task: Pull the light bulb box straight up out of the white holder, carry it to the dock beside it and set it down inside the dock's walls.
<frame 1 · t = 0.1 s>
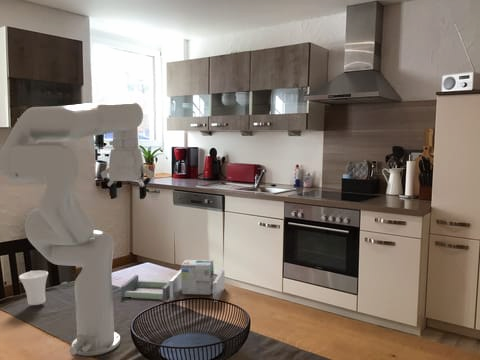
hand: (128, 198, 136), 37 cm above the table, tool pointing down, fingers open, 9 cm apart
cup: (35, 302, 144), point 1 cm above the table
dock: (150, 292, 156), on the table
light bulb box: (198, 291, 153), point 1 cm above the table
white holder: (198, 294, 153), on the table
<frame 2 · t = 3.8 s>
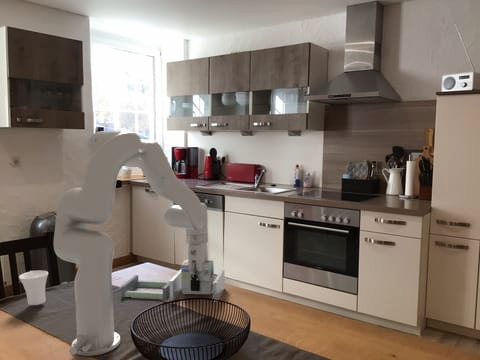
hand: (198, 286, 153), 3 cm above the table, tool pointing down, fingers closed on light bulb box, 7 cm apart
light bulb box: (198, 291, 153), point 1 cm above the table, touching gripper
everything else where it was.
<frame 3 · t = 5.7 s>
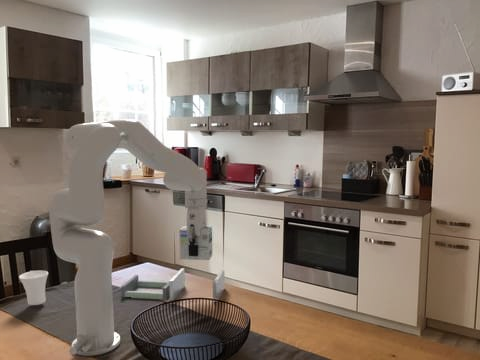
hand: (196, 252, 151), 15 cm above the table, tool pointing down, fingers closed on light bulb box, 7 cm apart
light bulb box: (196, 258, 151), point 13 cm above the table, touching gripper
everything else where it was.
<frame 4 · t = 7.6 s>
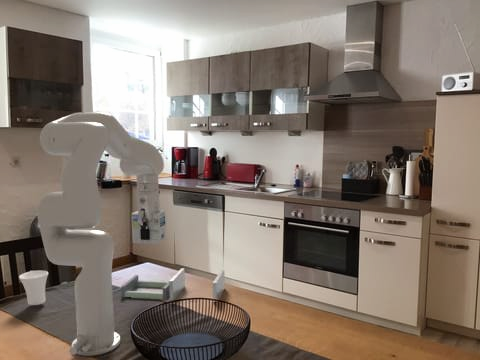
hand: (149, 236, 153), 21 cm above the table, tool pointing down, fingers closed on light bulb box, 7 cm apart
light bulb box: (149, 242, 154), point 19 cm above the table, touching gripper
everything else where it was.
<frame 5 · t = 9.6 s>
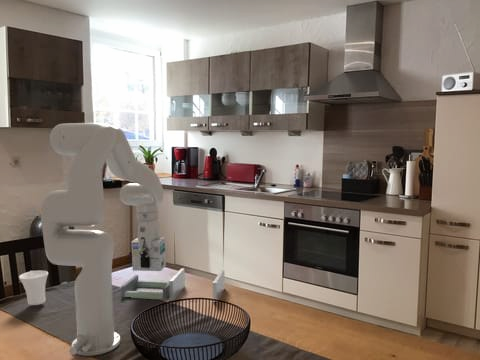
hand: (149, 263, 155), 10 cm above the table, tool pointing down, fingers closed on light bulb box, 7 cm apart
light bulb box: (149, 268, 155), point 9 cm above the table, touching gripper
everything else where it was.
when the fingers open (4 cm above the table, at t = 11.4 s): light bulb box drops 1 cm, point 1 cm above the table.
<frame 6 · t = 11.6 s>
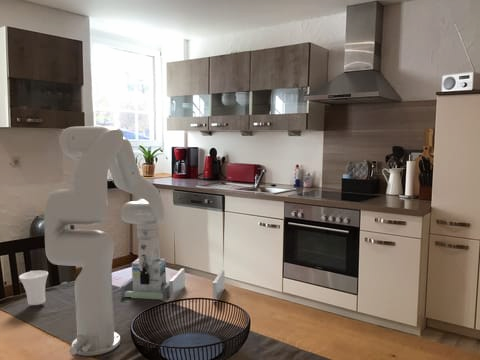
hand: (149, 279, 155), 5 cm above the table, tool pointing down, fingers open, 8 cm apart
light bulb box: (149, 290, 155), point 1 cm above the table
everything else where it was.
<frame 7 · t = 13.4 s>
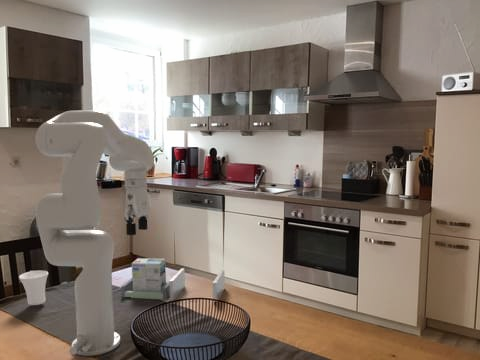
hand: (137, 232, 152), 23 cm above the table, tool pointing down, fingers open, 9 cm apart
nothing on the table moved.
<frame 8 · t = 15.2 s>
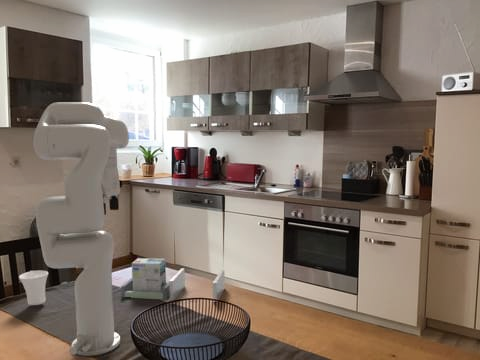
hand: (108, 212, 149), 30 cm above the table, tool pointing down, fingers open, 9 cm apart
nothing on the table moved.
at the end: light bulb box 0.3 cm off-centre on the dock, point 0.9 cm above the dock's base; light bulb box tilted 0°; the gripper is holding nothing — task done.
